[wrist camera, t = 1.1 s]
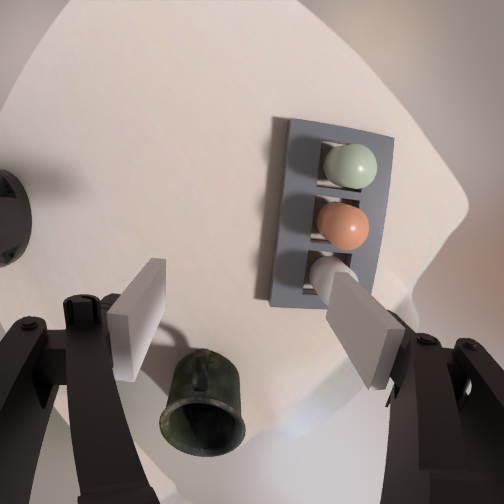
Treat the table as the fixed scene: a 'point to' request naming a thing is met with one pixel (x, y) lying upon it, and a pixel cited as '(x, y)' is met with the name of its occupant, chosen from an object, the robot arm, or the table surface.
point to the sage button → (350, 166)
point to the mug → (204, 406)
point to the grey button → (326, 275)
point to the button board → (302, 208)
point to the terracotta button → (343, 225)
